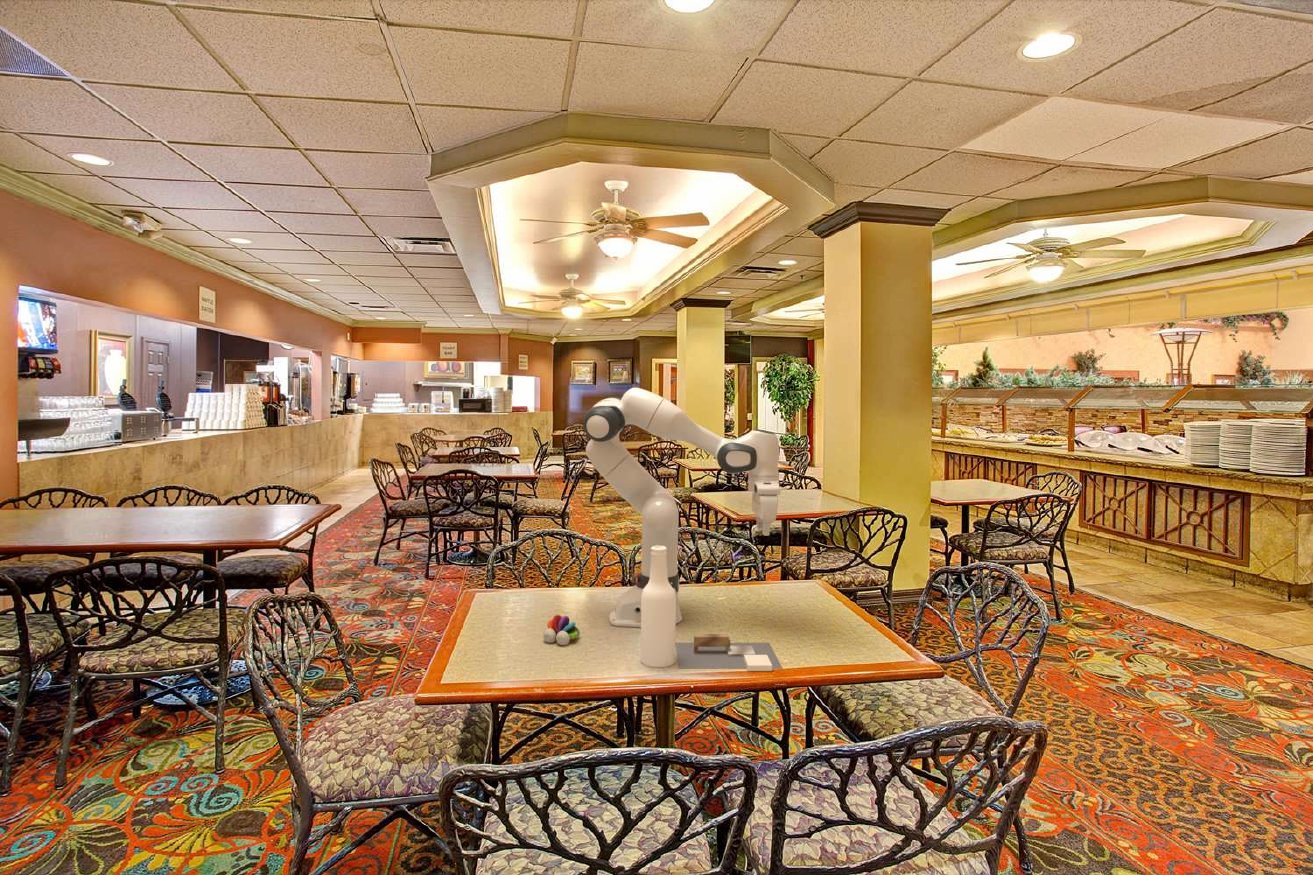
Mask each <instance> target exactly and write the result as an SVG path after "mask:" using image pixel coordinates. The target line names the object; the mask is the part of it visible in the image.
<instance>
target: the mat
mask: <svg viewBox="0 0 1313 875" xmlns="http://www.w3.org/2000/svg"><path fill="white" fill-rule="evenodd" d="M730 646H752V648H753V650H754V652H755V655H767V656H768V658H769V660H770V662H771V664H772V670H783V666H782V664H781V663H780V661H779V659H778V657H777V655H776V653H775V651H774V650H773V647H772V646H771V643H770V642H730ZM675 654H676V658H677V659H676V661H677V667H678V670H691V669H692V670H747V668H746V665H745V662H744V656H728V653H727V652H726V647H698V654H694V642H675Z"/></svg>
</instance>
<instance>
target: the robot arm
mask: <svg viewBox="0 0 1313 875" xmlns="http://www.w3.org/2000/svg"><path fill="white" fill-rule="evenodd" d="M629 425H633V426H635V427H636V426H637V427H638V428H640V429H642V430H644V431H646V432H647V433H649V434H651V435H653V436H655V437H658V438H661V439H665V440H668V441H677V442H678V441H680V442H684V443H687V444H690V445H692V446H695V447H696V448H698V449H701V450H702V451H704V452H706V453H708V454H709V455H711V456H712V457H714V458H715V459H716V461H717V464H718V466H719V467H720V469H721V470H723V471H724V472H725V473H727V474H732V475H735V474H741V473H745V472H747V473H748V487H747V488H748V489H747V490H748V491H749V492H751V511H752V512H753V513H754V514H755V520H756V529H757V530H762V535H763V536H766V537H768V536H770V530H771V526H772V523H774V522H776V519H777V516H778V515H777V514H778V501H779V495H780V494H781V488H780V473H779V463H780V443H779V438H778V436H777V435H776V434H775V433H774V432H772V431H769V430H764V429H759V428H758V429H757V428H754V429H752V430H750V431H749V432H748V433H746V434H744V435H742V436H740V437H737V438H733V437H723V436H721V435H718V434H717V433H715V432H713V431H711V430H709V429H707V428H705V427H704V426H702V425H699V423H697V422H695V421H694V420H693V419H692V418H691V417H690V416H689V415H688V414H687V413H686V412H684V410H682V409H681V408H680V407H679V406H677V405H676V404H674V403H673V402H671V401H670V400H668V399H666V398H664V397H663V396H661V395H658V394H657V393H654V392H653V391H652V392H651V391H649V390H646V389H643V388H640V387H631V388H629V389H628V390H627V391H625V393H624V394H623V396H622V397H619V396H608V397H604V398H603V399H601V400H599V401H598V402H596V403H595V404H594V405H593V406H592V407H591V408H590V409H589V410H588V411H587V412H586V413H585V415H584V418H583V420H582V428H583V431H584V433H585V434H586V436H587V437H588V438H589V439H590V440H589V441H588V443H587V444H586V447H585V454H586V457H587V458H588V459H589V462H590V463H591V464H592V466H593V467H594V469H595V470H596V471H597V472H598V473H599V475H601V477H602V478H603V479H604V480H605V481H606V482H607V483H608V484H609V486H611V487H612V488H613V490H614V491H615V492H616V493H617V494H618V495H619V496H620V497H621V498H623V500H625V501H626V502H627V503H628V504H629V505H630V506H632V507H633V508H634V509H635V510H636V511H637V513H639V514H640V515H641V572H639V571H635V572H634V573H633V578H634V585H633V586H632V587H630V589H628V590H626V591H625V592H624V593H622V594H621V595H620V596H619V597H618V601H617V603H616V608H615V609H614V610H612V611H611V612H610V613H609V618H608V621H609V623H610V624H611V625H612V626H615V627H629V628H641V596H642V592H643V589H644V588H645V586H646V585H647V584H648V582H649V579H650V568H651V556H652V554H651V552H652V550H651V548H652V547H653V546H665V547H666V548H667V550H666V552H667V554H666V559H667V574H668V581H669V584H670V585H671V586H672V587H673V589H674V591H675V596H676V624H679V623H680V622H681V621H682V620H683V617H682V613H681V608H680V602H679V590H680V576H679V573H678V548H679V547H678V545H679V542H678V541H679V523H680V522H679V517H680V516H679V515H680V514H679V508H678V506H677V502H676V500H675V498H674V497H673V496H672V495H671V494H670V493H669V492H668V490H666V489H665V487H663V486H662V485H661V484H660V482H658V481H657V479H655V478H654V477H653V476H652V474H650V473H649V472H648V471H647V470H646V469H645V468H644V467H643V465H642V464H641V463H640V462H639V461H638V460H637V459H636V458H635V457H634V456H633V455H632V454H631V453H630V451H628V449H627V448H626V447H625V446H624V445H623V444H622V442H621V441H620V436H621V435H622V433H623V432H624V430H625V428H626V427H627V426H629Z"/></svg>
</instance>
